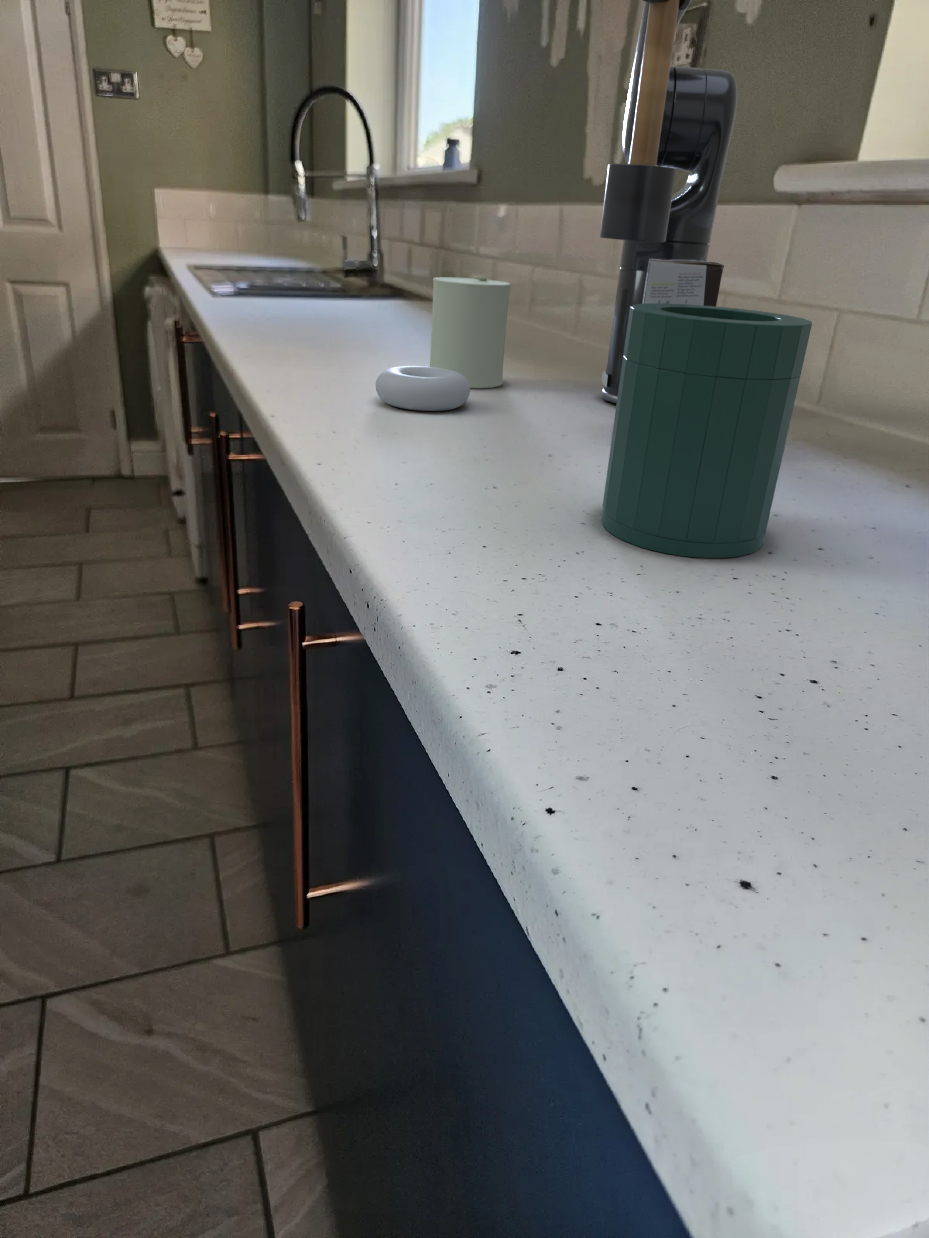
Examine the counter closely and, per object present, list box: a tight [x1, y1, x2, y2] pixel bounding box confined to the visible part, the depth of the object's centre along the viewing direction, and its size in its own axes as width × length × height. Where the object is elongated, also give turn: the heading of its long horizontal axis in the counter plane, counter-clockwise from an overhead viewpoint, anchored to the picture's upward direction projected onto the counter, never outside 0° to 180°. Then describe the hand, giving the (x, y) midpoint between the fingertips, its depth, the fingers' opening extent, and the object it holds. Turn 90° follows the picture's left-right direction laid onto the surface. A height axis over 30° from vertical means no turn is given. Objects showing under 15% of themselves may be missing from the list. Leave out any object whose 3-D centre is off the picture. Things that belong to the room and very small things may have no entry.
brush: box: [599, 0, 680, 242], centre depth 62 cm, size 5×5×20 cm
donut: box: [375, 365, 471, 412], centre depth 91 cm, size 10×4×10 cm
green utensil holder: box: [601, 303, 813, 559], centre depth 56 cm, size 11×11×14 cm
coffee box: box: [642, 259, 725, 307], centre depth 81 cm, size 9×6×16 cm
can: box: [429, 275, 512, 389], centre depth 104 cm, size 9×9×12 cm
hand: (664, 4), depth 60 cm, fingers closed on brush
